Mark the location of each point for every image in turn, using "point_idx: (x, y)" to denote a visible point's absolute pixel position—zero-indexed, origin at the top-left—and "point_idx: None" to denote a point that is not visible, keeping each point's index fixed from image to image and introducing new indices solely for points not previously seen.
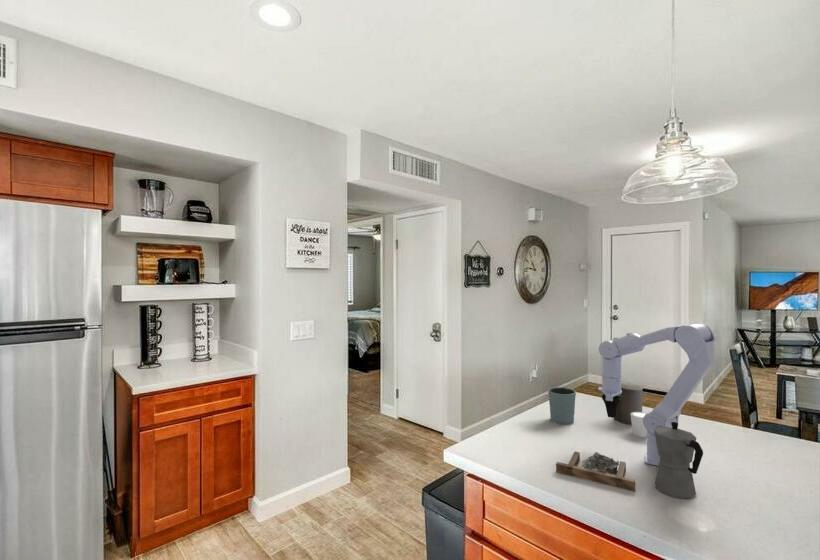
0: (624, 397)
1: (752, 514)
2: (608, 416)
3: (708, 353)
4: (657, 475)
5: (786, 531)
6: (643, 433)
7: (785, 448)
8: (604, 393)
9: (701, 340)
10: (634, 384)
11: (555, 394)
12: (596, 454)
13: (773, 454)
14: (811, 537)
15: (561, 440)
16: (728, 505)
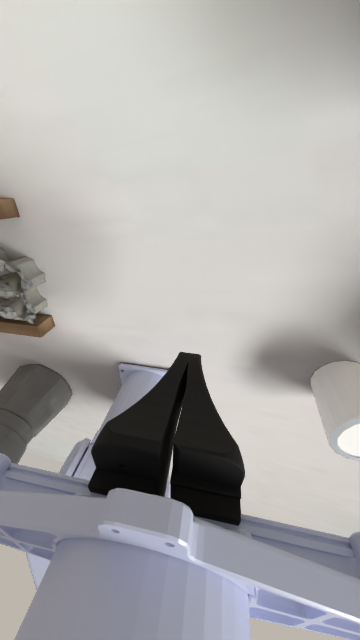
0: None
1: (53, 436)
2: (178, 355)
3: None
4: (18, 381)
5: (41, 446)
6: (313, 389)
7: (312, 528)
8: (13, 501)
9: None
10: None
11: None
12: (18, 273)
13: (277, 510)
14: (46, 456)
15: (151, 96)
16: (55, 424)
